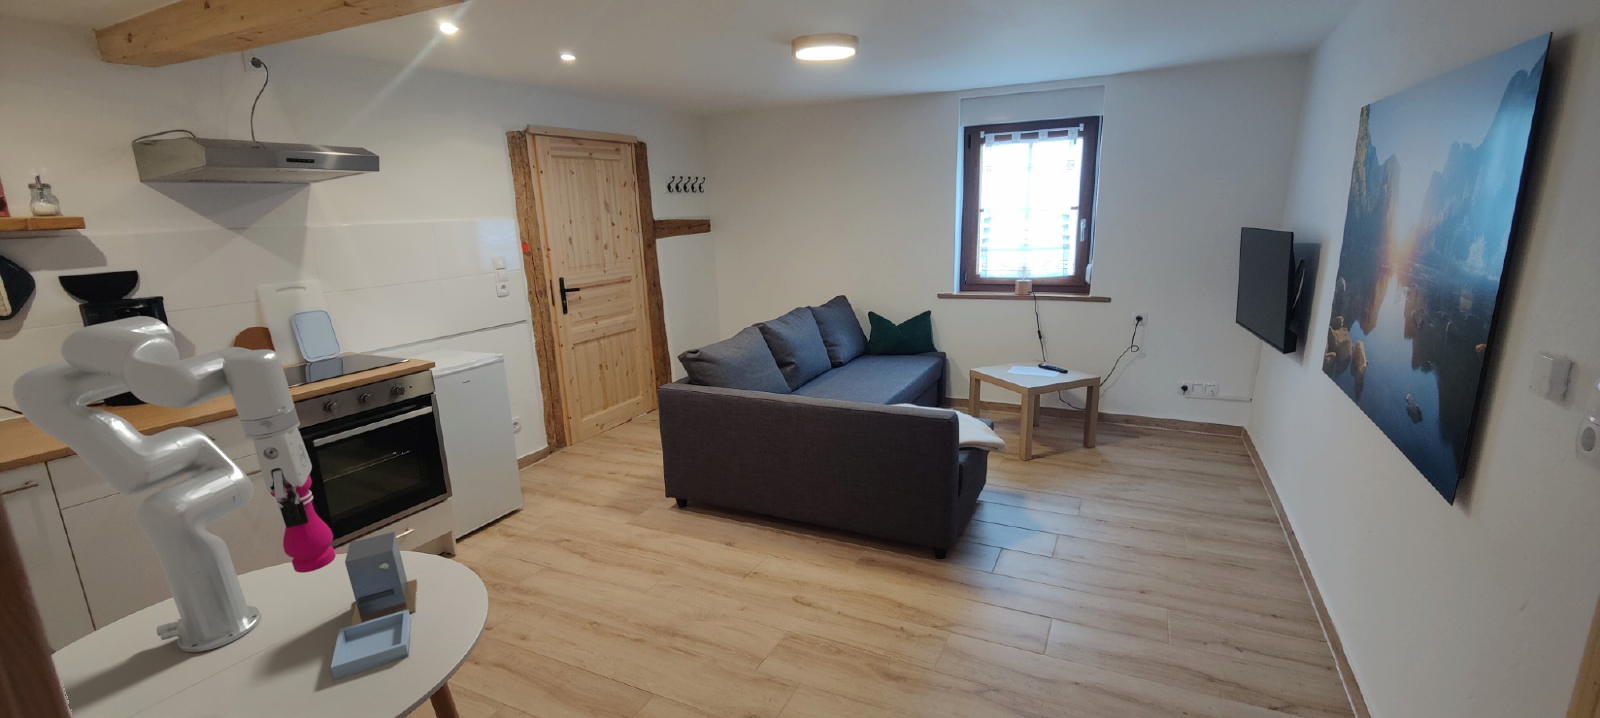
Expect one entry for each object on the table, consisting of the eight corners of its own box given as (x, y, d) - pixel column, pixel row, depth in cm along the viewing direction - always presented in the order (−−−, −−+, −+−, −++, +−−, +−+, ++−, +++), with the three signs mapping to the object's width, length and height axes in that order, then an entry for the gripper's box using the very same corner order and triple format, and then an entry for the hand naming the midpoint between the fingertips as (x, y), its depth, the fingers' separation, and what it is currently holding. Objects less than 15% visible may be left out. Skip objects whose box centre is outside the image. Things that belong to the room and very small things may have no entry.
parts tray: (334, 679, 119) (330, 667, 118) (342, 640, 129) (339, 629, 128) (408, 656, 124) (405, 644, 123) (411, 620, 134) (408, 609, 133)
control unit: (352, 629, 132) (334, 568, 128) (358, 599, 141) (342, 541, 137) (415, 611, 137) (400, 551, 132) (417, 583, 146) (403, 526, 142)
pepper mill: (314, 575, 118) (281, 472, 112) (280, 573, 119) (246, 471, 113) (348, 552, 124) (318, 453, 119) (316, 550, 126) (285, 453, 120)
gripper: (286, 433, 108) (318, 532, 113) (306, 403, 123) (333, 492, 128) (229, 444, 105) (263, 546, 110) (256, 412, 120) (285, 503, 125)
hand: (300, 516), depth 119 cm, fingers closed on pepper mill, 5 cm apart
